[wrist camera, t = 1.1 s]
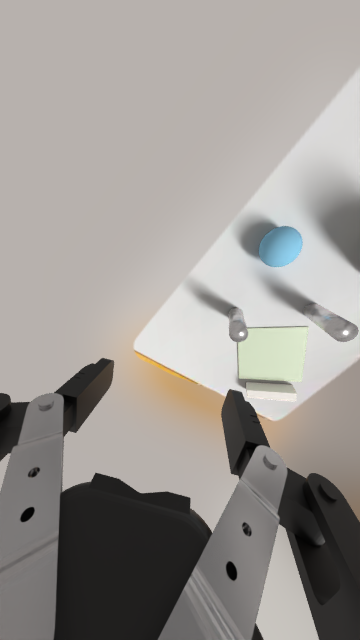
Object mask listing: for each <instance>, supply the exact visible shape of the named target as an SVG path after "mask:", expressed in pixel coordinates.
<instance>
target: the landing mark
mask: <svg viewBox="0 0 360 640" xmlns="http://www.w3.org/2000/svg"><path fill="white" fill-rule="evenodd" d="M308 328H309V327H275V328H247V331H248V337H247V339H246V340H244V341H242V342H238V366H239V379H258V380H276V381H295V382H302V375H303V367H304V360H305V352H306V344H307V336H308Z"/></svg>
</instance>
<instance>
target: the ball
mask: <svg viewBox="0 0 360 640" xmlns="http://www.w3.org/2000/svg"><path fill="white" fill-rule="evenodd" d="M301 249H302V237H301V235H300V233H299V232H298V231H297V230H296V229H294V228H292V227H288V226H282V227H278V228H275V229H273V230H271V231H270V232H268V233H267V234H266V235H265V236H264V238H263V239H262V241H261V243H260V246H259V255H260V258H261V260H262V261H263V262H264V263H265V264H266V265H268V266H271V267H282V266H285V265H287V264H289V263H291V262H292V261H293V260H295V259H296V257H297V256H298V255H299V253H300V251H301Z"/></svg>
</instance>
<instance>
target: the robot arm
mask: <svg viewBox="0 0 360 640" xmlns="http://www.w3.org/2000/svg"><path fill="white" fill-rule="evenodd" d="M113 368H114V361H113V360H109V359H105V358H102V359H100V360H99V361H98V362H97V363H96V364H90V365H87V366H85V367H84V368H82V369H81V370H80V371H79V372H78V373H77V374H75V375H74V376H73V377H72V378H71V379H70V380H68V381H67V382H66V383H65V384H64V385H63V386H61V387H60V388H59V389H58V390H57V391H56V392H54V393H49V394H44V395H41V396H39V397H37V398H35V399H34V400H33V401H31V402H17V403H11V399H10V396H9V395H7V394H4V393H0V461H1V460H2V459H3V458H4V457H5V456H6V455H7V454H8V453H11V455H10V459H9V462H8V466H7V470H6V474H5V477H4V481H3V484H2V488H1V492H0V640H263V637H262V635H261V633H260V631H259V629H258V627H257V625H256V623H255V622H256V618H257V614H258V610H259V605H260V601H261V597H262V593H263V589H264V584H265V580H266V576H267V572H268V567H269V563H270V559H271V555H272V550H273V546H274V542H275V537H276V533H277V529H278V525H279V524H280V525H282V526H283V527H284V528H286V532H287V535H288V538H289V541H290V545H291V548H292V551H293V555H294V558H295V561H296V565H297V568H298V571H299V575H300V578H301V581H302V584H303V588H304V591H305V594H306V598H307V601H308V604H309V607H310V610H311V614H312V617H313V620H314V624H315V627H316V630H317V633H318V637H319V640H360V522H359V520H358V519H357V517H356V516H355V514H354V512H353V511H352V509H351V507H350V506H349V504H348V503H347V501H346V499H345V498H344V496H343V495H342V493H341V492H340V491H339V490H338V489H337V487H336V486H335V485H334V484H332V483H331V482H330V481H329V480H328V479H326V478H325V477H323V476H321V475H319V474H316V473H311V474H309V476H308V477H307V479H306V478H304V477H303V476H301V475H299V474H297V473H296V472H294V471H292V470H290V469H289V468H287V467H286V464H285V463H284V461H283V459H282V458H281V457H280V456H279V454H277V453H276V452H275V451H274V450H273V449H271V448H270V446H269V443H268V441H267V438H266V436H265V434H264V431H263V429H262V426H261V424H260V421H259V419H258V418H257V414H256V412H255V409H254V408H253V407H252V406H251V404H250V403H249V402H247V401H245V400H244V397H243V394H242V392H239V391H235V390H231V389H229V391H228V393H227V396H226V399H225V401H224V404H223V407H222V414H221V415H222V422H223V428H224V434H225V440H226V446H227V452H228V458H229V464H230V469H231V474H234V475H238V476H239V482H238V484H237V486H236V488H235V490H234V492H233V494H232V496H231V498H230V500H229V502H228V504H227V506H226V508H225V510H224V512H223V513H222V516H221V518H220V519H219V522H218V524H217V525H216V527H215V529H214V531H213V533H212V532H211V530H210V528H209V527H208V525H207V524H206V523H205V521H204V520H203V519H202V518H201V517H200V516H199V515H198V514H197V513H196V512H195V511H194V510H192V509H190V498H189V497H185V496H182V495H178V494H174V493H170V492H155V493H139V492H137V491H136V490H134V489H133V488H131V487H130V486H128V485H127V484H125V483H124V482H123V481H121V480H120V479H117V478H113V477H110V476H106V475H102V474H98V473H95V475H94V477H93V479H92V481H91V482H86V483H81V484H78V485H75V486H73V487H71V488H69V489H67V490H65V491H63V492H62V485H63V484H62V483H63V482H62V481H63V443H64V436H65V435H66V434H67V432H68V431H71V432H75V433H76V432H77V431H78V429H79V428H80V427H81V425H82V424H83V423H84V421H85V420H86V419H87V417H88V416H89V415H90V413H91V412H92V411H93V409H94V408H95V406H96V405H97V404H98V403H99V401H100V400H101V398H102V397H103V396H104V394H105V393H106V392H107V390H108V389H109V387H110V385H111V382H112V378H113Z"/></svg>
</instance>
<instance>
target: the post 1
mask: <svg viewBox="0 0 360 640" xmlns="http://www.w3.org/2000/svg"><path fill="white" fill-rule="evenodd" d="M229 335H230V338H231V339H232V340H233V341H235V342H242V341H244V340H246V339H247V337H248V331H247V327H246V323H245V320H244V316H243V312H242V310H241V309H239V308H233V309H231V310H230V311H229Z"/></svg>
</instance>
